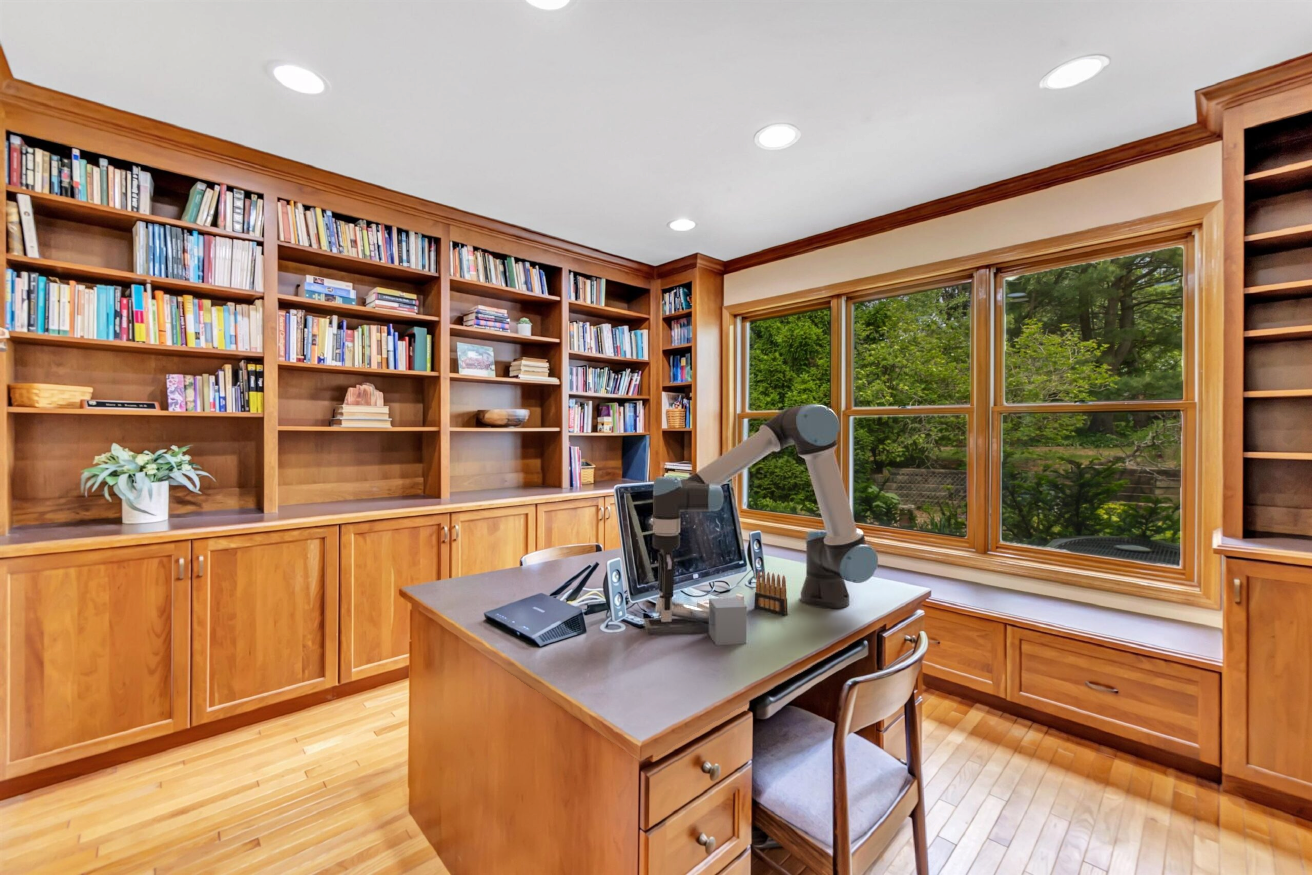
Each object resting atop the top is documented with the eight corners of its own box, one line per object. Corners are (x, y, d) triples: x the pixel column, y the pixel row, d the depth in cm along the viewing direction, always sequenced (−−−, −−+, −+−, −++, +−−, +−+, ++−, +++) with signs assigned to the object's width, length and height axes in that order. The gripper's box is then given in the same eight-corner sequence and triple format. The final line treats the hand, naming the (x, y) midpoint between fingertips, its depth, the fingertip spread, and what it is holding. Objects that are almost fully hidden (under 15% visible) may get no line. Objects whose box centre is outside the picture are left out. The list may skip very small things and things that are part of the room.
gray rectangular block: (737, 632, 149) (737, 597, 149) (746, 643, 141) (746, 606, 141) (708, 633, 148) (709, 598, 148) (716, 644, 140) (716, 607, 140)
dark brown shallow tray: (717, 622, 157) (717, 615, 157) (724, 631, 150) (724, 624, 150) (644, 625, 154) (644, 618, 154) (647, 634, 147) (647, 627, 147)
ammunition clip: (753, 608, 170) (754, 569, 170) (757, 607, 172) (757, 568, 172) (784, 616, 163) (785, 576, 163) (787, 615, 164) (788, 575, 164)
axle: (708, 621, 155) (712, 608, 155) (711, 627, 151) (715, 614, 151) (654, 608, 153) (658, 595, 153) (656, 614, 149) (660, 601, 149)
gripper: (648, 528, 159) (647, 609, 159) (657, 539, 142) (655, 629, 142) (674, 527, 160) (673, 608, 160) (685, 538, 143) (684, 628, 144)
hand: (665, 618), depth 151 cm, fingers closed on axle, 4 cm apart
